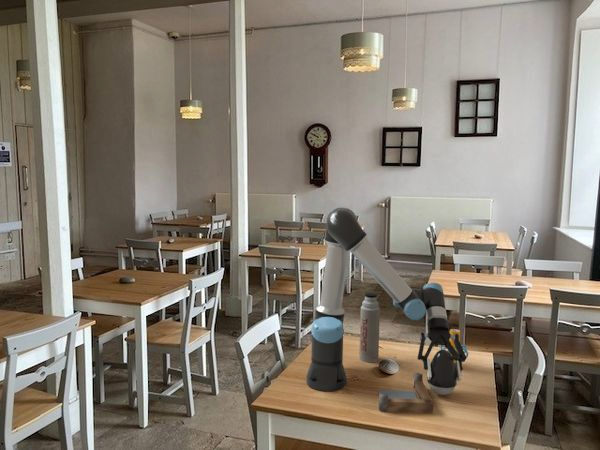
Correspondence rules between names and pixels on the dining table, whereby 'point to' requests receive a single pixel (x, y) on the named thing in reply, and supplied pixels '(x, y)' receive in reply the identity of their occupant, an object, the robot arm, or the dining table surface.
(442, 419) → the dining table surface
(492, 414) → the dining table surface
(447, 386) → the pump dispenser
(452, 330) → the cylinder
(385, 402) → the wooden corner bracket
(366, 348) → the thermos bottle
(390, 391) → the pad
